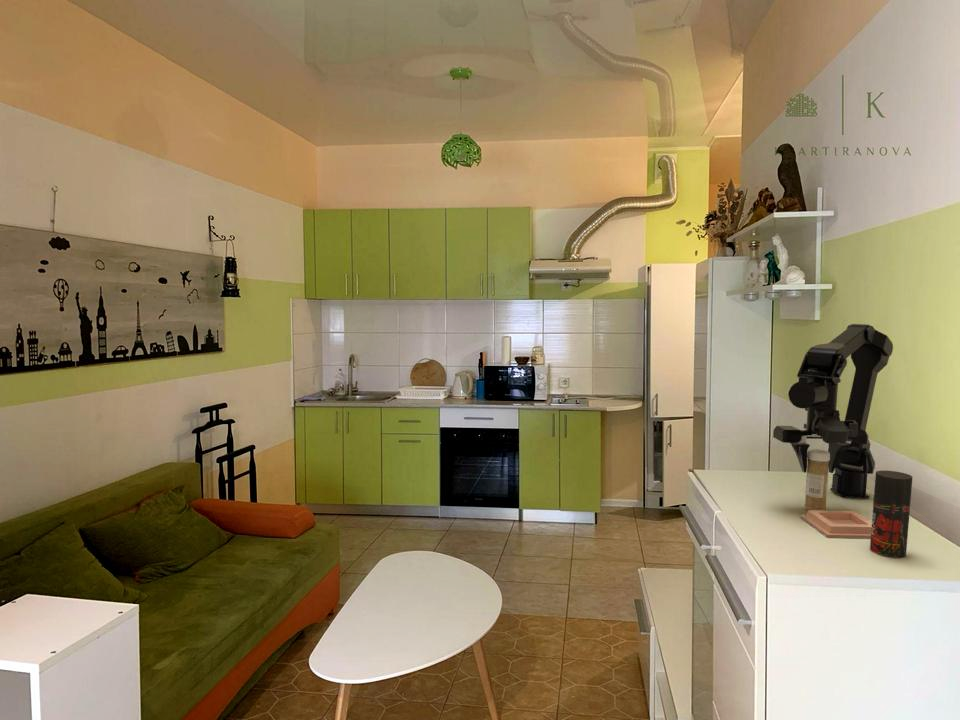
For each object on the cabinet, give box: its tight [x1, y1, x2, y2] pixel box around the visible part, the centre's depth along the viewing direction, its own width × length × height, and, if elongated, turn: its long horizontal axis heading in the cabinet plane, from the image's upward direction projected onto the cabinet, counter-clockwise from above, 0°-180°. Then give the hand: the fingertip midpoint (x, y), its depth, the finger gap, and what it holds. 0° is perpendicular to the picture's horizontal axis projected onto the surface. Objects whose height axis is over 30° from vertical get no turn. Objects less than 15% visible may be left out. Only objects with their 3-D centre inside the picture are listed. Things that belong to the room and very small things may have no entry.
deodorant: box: [869, 470, 913, 559], centre depth 130 cm, size 6×6×15 cm
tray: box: [799, 509, 872, 539], centre depth 143 cm, size 12×12×2 cm
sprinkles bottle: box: [804, 448, 830, 511], centre depth 155 cm, size 5×5×13 cm
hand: (817, 472), depth 154 cm, fingers open, 6 cm apart
